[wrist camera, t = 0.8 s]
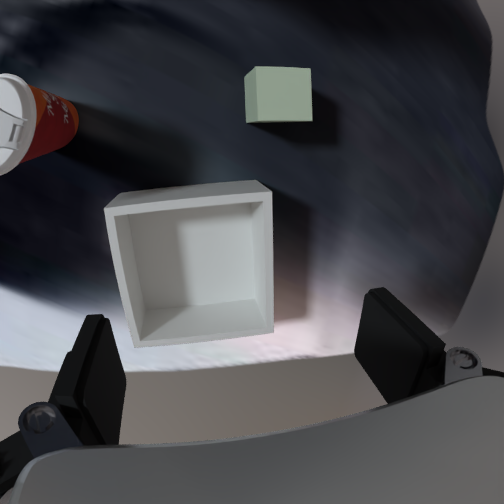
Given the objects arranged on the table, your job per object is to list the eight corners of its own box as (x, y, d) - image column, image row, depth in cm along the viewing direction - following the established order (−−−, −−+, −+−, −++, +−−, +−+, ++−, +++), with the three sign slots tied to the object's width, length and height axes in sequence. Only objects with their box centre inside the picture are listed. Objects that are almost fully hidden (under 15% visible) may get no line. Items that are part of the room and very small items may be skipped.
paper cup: (98, 98, 28) (43, 80, 15) (75, 167, 30) (12, 191, 17) (40, 83, 26) (-32, 66, 13) (19, 149, 28) (-57, 165, 15)
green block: (244, 77, 30) (255, 66, 25) (290, 77, 31) (310, 68, 25) (246, 122, 32) (258, 120, 26) (292, 122, 33) (312, 120, 27)
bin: (120, 193, 32) (103, 208, 26) (256, 179, 34) (272, 191, 28) (141, 313, 37) (134, 347, 31) (259, 300, 40) (273, 332, 33)
